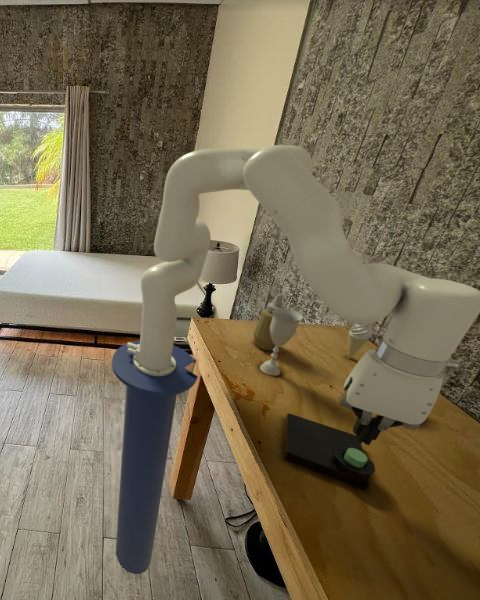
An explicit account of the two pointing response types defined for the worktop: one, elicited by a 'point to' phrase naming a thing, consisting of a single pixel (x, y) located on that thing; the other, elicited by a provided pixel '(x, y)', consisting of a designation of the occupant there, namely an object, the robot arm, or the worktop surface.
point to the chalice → (280, 335)
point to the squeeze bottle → (266, 325)
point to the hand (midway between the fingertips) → (361, 437)
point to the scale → (324, 451)
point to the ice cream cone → (358, 337)
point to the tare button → (355, 457)
